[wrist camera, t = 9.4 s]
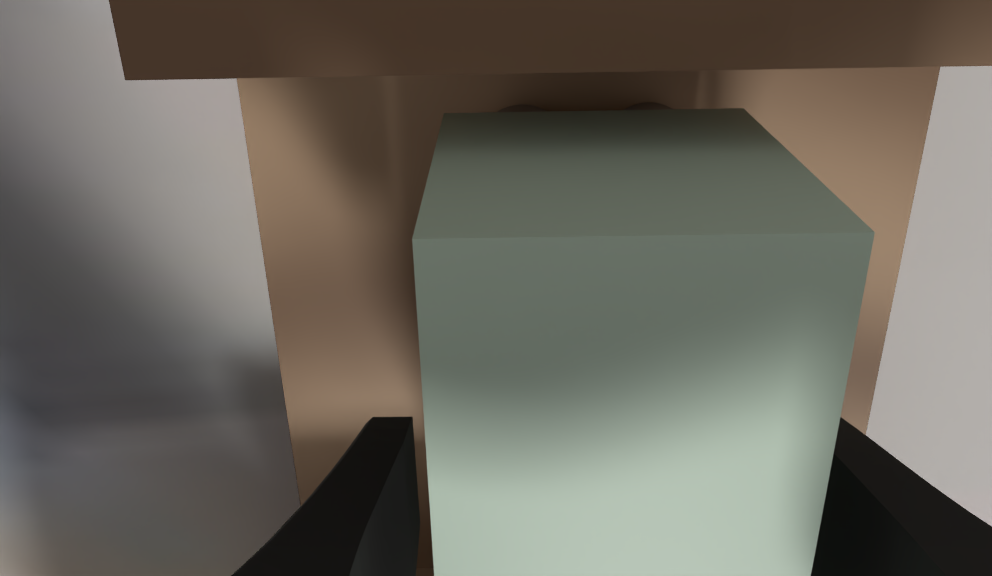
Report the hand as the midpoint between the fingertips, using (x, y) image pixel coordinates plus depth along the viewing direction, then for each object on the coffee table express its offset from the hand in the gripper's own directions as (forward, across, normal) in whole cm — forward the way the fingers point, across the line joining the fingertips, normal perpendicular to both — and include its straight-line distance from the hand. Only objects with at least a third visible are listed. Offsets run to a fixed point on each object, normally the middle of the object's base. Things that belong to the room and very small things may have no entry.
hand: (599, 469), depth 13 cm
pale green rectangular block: (+2, 0, 0) cm, 2 cm away
